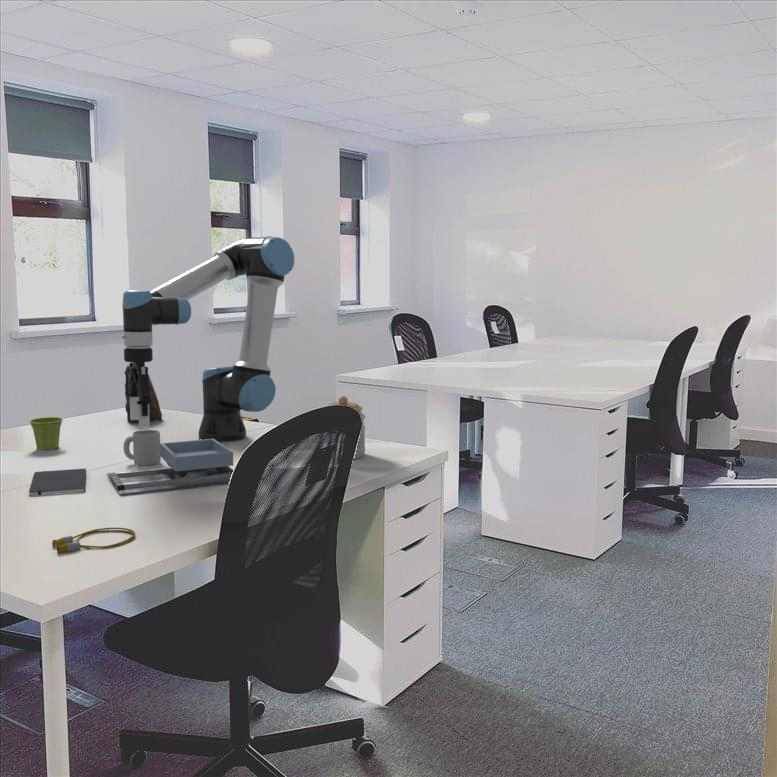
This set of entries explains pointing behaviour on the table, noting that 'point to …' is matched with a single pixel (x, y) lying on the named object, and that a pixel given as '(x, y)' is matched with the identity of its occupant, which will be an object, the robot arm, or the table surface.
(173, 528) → the table surface
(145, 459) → the cup
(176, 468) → the cart
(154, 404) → the brown rock
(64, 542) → the extension cord
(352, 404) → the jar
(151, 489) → the track
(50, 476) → the notebook
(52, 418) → the plant pot
